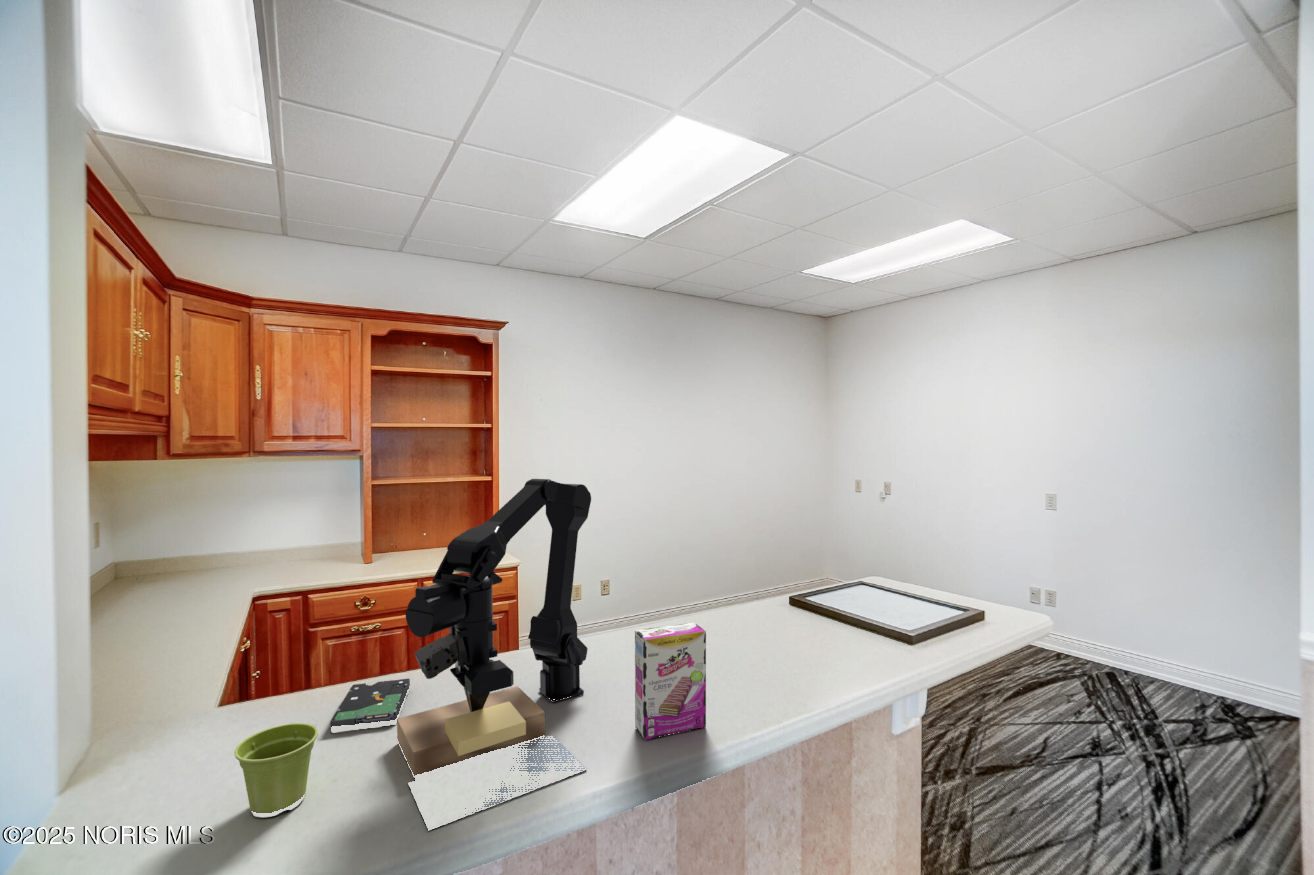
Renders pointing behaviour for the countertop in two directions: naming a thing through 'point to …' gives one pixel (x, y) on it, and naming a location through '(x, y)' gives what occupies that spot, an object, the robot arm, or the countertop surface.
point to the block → (484, 728)
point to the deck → (431, 743)
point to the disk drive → (371, 703)
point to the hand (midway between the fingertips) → (475, 715)
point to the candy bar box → (670, 679)
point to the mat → (540, 759)
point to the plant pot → (276, 765)
